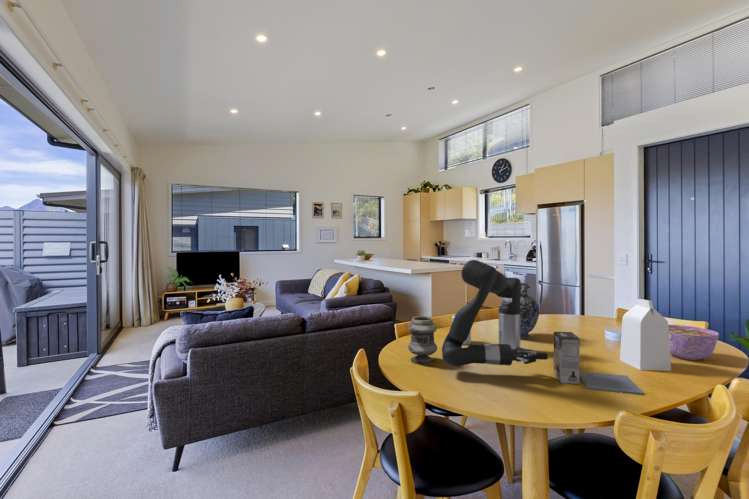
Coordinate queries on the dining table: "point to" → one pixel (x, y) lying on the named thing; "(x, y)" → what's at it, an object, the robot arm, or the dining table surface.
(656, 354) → the milk
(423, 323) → the apothecary jar
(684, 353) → the bowl of food
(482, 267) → the robot arm
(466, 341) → the supplement box
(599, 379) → the grey mat
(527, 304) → the decorative vase
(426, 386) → the dining table surface
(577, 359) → the coffee box
